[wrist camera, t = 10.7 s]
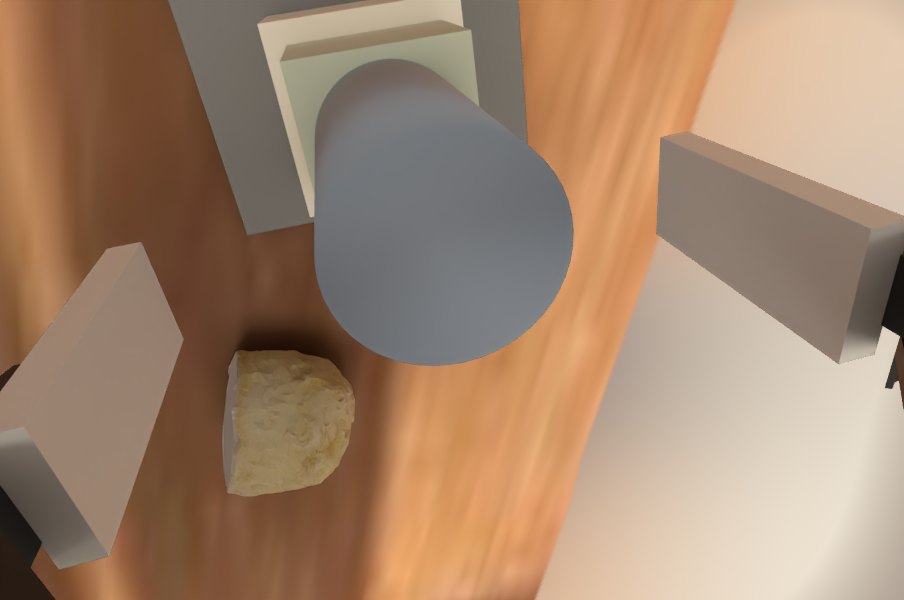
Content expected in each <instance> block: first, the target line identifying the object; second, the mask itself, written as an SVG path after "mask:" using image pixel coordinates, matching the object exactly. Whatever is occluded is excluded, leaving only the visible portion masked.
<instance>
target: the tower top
mask: <svg viewBox="0 0 904 600" xmlns="http://www.w3.org/2000/svg"><path fill="white" fill-rule="evenodd" d="M382 59H402V60H408V61H412V62H415V63H418V64H421V65H423V66H425V67H427V68H429V69H431V70H432V71H434V72H435V73H437V74H438V75H440V76H441V77H442V78H443V79H445V80H446V81H447V82H449V83H450V84H451V85H452V86H454V87H455V88H456V89H457V90H459V91H460V92H461V93H462V94H464V95H465V96H466V97H467V98H469V99H470V100H471V101H473V102H474V103H475V104H476V105H478V106H479V99H478V90H477V80H476V71H475V61H474V52H473V42H472V33H471V29H468V28H465V27H462V26H459V25H456V24H453V23H450V22H447V21H444V20H435V21H429V22H423V23H417V24H411V25H405V26H399V27H393V28H387V29H381V30H375V31H369V32H363V33H357V34H351V35H345V36H339V37H333V38H326V39H320V40H314V41H308V42H302V43H296V44H290V45H287V46H286V48H285V50H284V53H283V55H282V57H281V60H280V66H281V69H282V73H283V77H284V81H285V85H286V88H287V92H288V96H289V100H290V103H291V107H292V111H293V115H294V119H295V122H296V126H297V130H298V134H299V138H300V141H301V145H302V149H303V153H304V157H305V160H306V164H307V168H308V172H309V176H310V179H311V183H312V187H313V191H314V195H315V127H316V121H317V117H318V113H319V110H320V108H321V105H322V103H323V101H324V99H325V97H326V95H327V94H328V92H329V91H330V90H331V88H332V87H333V86H334V85H335V84H336V83H337V82H338V81H339V80H340V78H342V77H343V76H344V75H346V74H347V73H348V72H350V71H351V70H353V69H355V68H356V67H358V66H361V65H363V64H366V63H368V62H372V61H376V60H382Z"/></svg>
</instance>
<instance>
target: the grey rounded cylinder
mask: <svg viewBox="0 0 904 600" xmlns="http://www.w3.org/2000/svg"><path fill="white" fill-rule="evenodd" d="M572 248H573V221H572V214H571V210H570V205H569V201H568V199H567V196H566V194H565V191H564V189H563V186H562V184H561V183H560V181H559V179H558V178H557V176H556V174H555V172H554V171H553V170H552V169H551V167H550V166H549V165H548V164H547V163H546V161H545V160H544V159H543V158H542V157H541V156H540V155H539V154H537V153H536V152H535V151H534V150H533V149H532V148H531V147H529V146H528V145H527V144H526V143H524V142H523V141H522V140H521V139H519V138H518V137H517V136H516V135H514V134H513V133H512V132H510V131H509V130H508V129H507V128H505V127H504V126H503V125H502V124H500V123H499V122H498V121H497V120H495V119H494V118H493V117H492V116H490V115H489V114H488V113H486V112H485V111H484V110H483V109H481V108H480V107H479V106H478V105H476V104H475V103H474V102H473V101H471V100H470V99H469V98H467V97H466V96H465V95H464V94H462V93H461V92H460V91H459V90H457V89H456V88H455V87H454V86H452V85H451V84H450V83H449V82H447V81H446V80H445V79H443V78H442V77H441V76H440V75H438V74H437V73H435V72H434V71H432V70H431V69H429V68H427V67H425V66H423V65H421V64H418V63H415V62H412V61H408V60H402V59H382V60H376V61H372V62H368V63H366V64H363V65H361V66H358V67H356V68H355V69H353V70H351V71H350V72H348V73H347V74H346V75H344V76H343V77H342V78H340V80H339V81H338V82H337V83H336V84H335V85H334V86H333V87H332V88H331V90H330V91H329V92H328V94H327V95H326V97H325V99H324V101H323V103H322V105H321V108H320V110H319V113H318V117H317V121H316V127H315V199H314V258H315V271H316V276H317V281H318V285H319V288H320V291H321V293H322V296H323V299H324V301H325V303H326V305H327V306H328V308H329V310H330V312H331V314H332V315H333V316H334V318H335V319H336V320H337V322H338V323H339V324H340V326H341V327H342V328H343V329H344V330H345V331H346V332H347V333H348V334H349V335H350V336H351V337H353V338H354V339H355V340H357V341H358V342H359V343H361V344H362V345H363V346H365V347H367V348H368V349H370V350H372V351H374V352H375V353H377V354H380V355H382V356H385V357H387V358H389V359H393V360H396V361H400V362H403V363H409V364H415V365H426V366H440V365H452V364H458V363H463V362H467V361H471V360H474V359H478V358H481V357H483V356H486V355H488V354H491V353H493V352H495V351H497V350H499V349H501V348H503V347H504V346H506V345H508V344H509V343H511V342H512V341H514V340H515V339H517V338H518V337H520V336H521V335H522V334H523V333H525V332H526V331H527V330H528V329H529V328H531V327H532V326H533V325H534V324H535V323H536V321H537V320H538V319H539V318H540V317H541V316H542V315H543V314H544V313H545V311H546V310H547V309H548V307H549V306H550V305H551V303H552V302H553V300H554V298H555V297H556V295H557V293H558V292H559V290H560V288H561V286H562V283H563V281H564V279H565V277H566V274H567V270H568V267H569V264H570V260H571V254H572Z"/></svg>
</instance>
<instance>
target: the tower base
mask: <svg viewBox="0 0 904 600" xmlns="http://www.w3.org/2000/svg"><path fill="white" fill-rule="evenodd" d="M435 20H444V21H447V22H450V23H453V24H456V25H459V26H462V27H464V26H463V17H462V8H461V0H365V1H359V2H353V3H346V4H340V5H334V6H327V7H321V8H315V9H309V10H302V11H296V12H290V13H284V14H277V15H271V16H267V17H265V18H264V19H263V20H262V21H260V22H259V23H258V24H257V25H258V29H259V33H260V36H261V40H262V44H263V47H264V51H265V55H266V58H267V62H268V66H269V69H270V73H271V77H272V80H273V84H274V87H275V91H276V95H277V98H278V102H279V106H280V109H281V113H282V117H283V120H284V124H285V128H286V131H287V135H288V139H289V142H290V146H291V150H292V153H293V157H294V161H295V164H296V168H297V172H298V175H299V179H300V183H301V186H302V190H303V194H304V197H305V201H306V205H307V208H308V212H309V216H310V217H314V199H315V195H314V191H313V187H312V183H311V179H310V176H309V172H308V168H307V164H306V160H305V157H304V153H303V149H302V145H301V141H300V138H299V134H298V130H297V126H296V122H295V119H294V115H293V111H292V107H291V103H290V100H289V96H288V92H287V88H286V85H285V81H284V77H283V73H282V69H281V66H280V60H281V57H282V55H283V53H284V50H285V48H286V46H287V45H290V44H296V43H302V42H308V41H314V40H320V39H326V38H333V37H339V36H345V35H351V34H357V33H363V32H369V31H375V30H381V29H387V28H393V27H399V26H405V25H411V24H417V23H423V22H429V21H435Z"/></svg>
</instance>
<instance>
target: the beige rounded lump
mask: <svg viewBox="0 0 904 600" xmlns="http://www.w3.org/2000/svg"><path fill="white" fill-rule="evenodd" d="M228 374H229V380H228V385H227V394H226V403H225V412H224V420H223V435H222V448H223V467H224V476H225V482H226V487H225V488H227V493H228V494H230V493H233V494H237V495H240V496H257V495H261V494H270V493H276V492H282V491H289V490H296V489H302V488H304V487H307V486H310V485H316V484H320V483H322V481H323V480H324V479H325V478H326V477H328V476H329V475H330V474H331V473H332V472H333V471H334V469H335V467H338V465H339V463H340V460H341V458H342V456H343V454H344V452H345V450H346V447H347V446H348V445H349V437H350V429H351V423H352V422H354V411H355V398H354V396H353V390H352V388H351V384H350V383H349V382H348V381H347V380H346V378H344V377H343V376H342V374H341V372H340V370H338V369H337V367H336V366H335V365H334V364H333V363H332V362H331V361H330V360H328V359H324V358H321V357H317V356H312V355H305V354H302V353H300V352H298V351H295V350H289V351H282V350H275V351H264V350H263V351H245V350H238V351H237V350H236V352H235V355H234V357H233V359H232V361H231V364H230V365H229V367H228Z"/></svg>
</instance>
